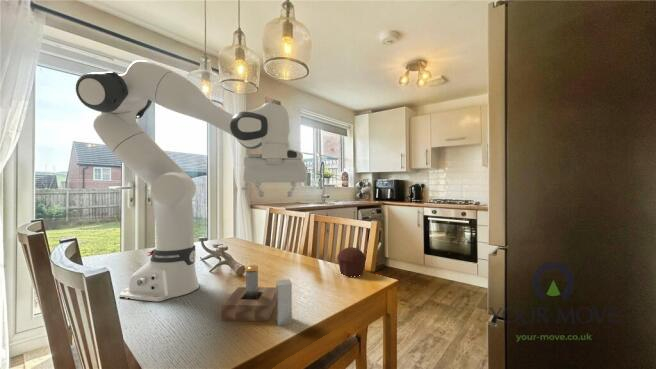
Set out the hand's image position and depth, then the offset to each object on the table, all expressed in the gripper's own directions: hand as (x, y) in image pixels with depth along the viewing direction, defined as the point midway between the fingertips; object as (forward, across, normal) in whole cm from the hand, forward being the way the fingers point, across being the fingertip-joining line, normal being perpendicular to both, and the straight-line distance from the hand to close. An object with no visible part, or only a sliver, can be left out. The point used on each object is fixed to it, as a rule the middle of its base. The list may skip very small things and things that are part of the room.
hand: (275, 196), depth 86 cm
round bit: (+31, -4, -12) cm, 34 cm away
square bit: (+31, +6, -18) cm, 36 cm away
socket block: (+31, -4, -12) cm, 34 cm away
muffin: (+31, +26, +19) cm, 45 cm away
